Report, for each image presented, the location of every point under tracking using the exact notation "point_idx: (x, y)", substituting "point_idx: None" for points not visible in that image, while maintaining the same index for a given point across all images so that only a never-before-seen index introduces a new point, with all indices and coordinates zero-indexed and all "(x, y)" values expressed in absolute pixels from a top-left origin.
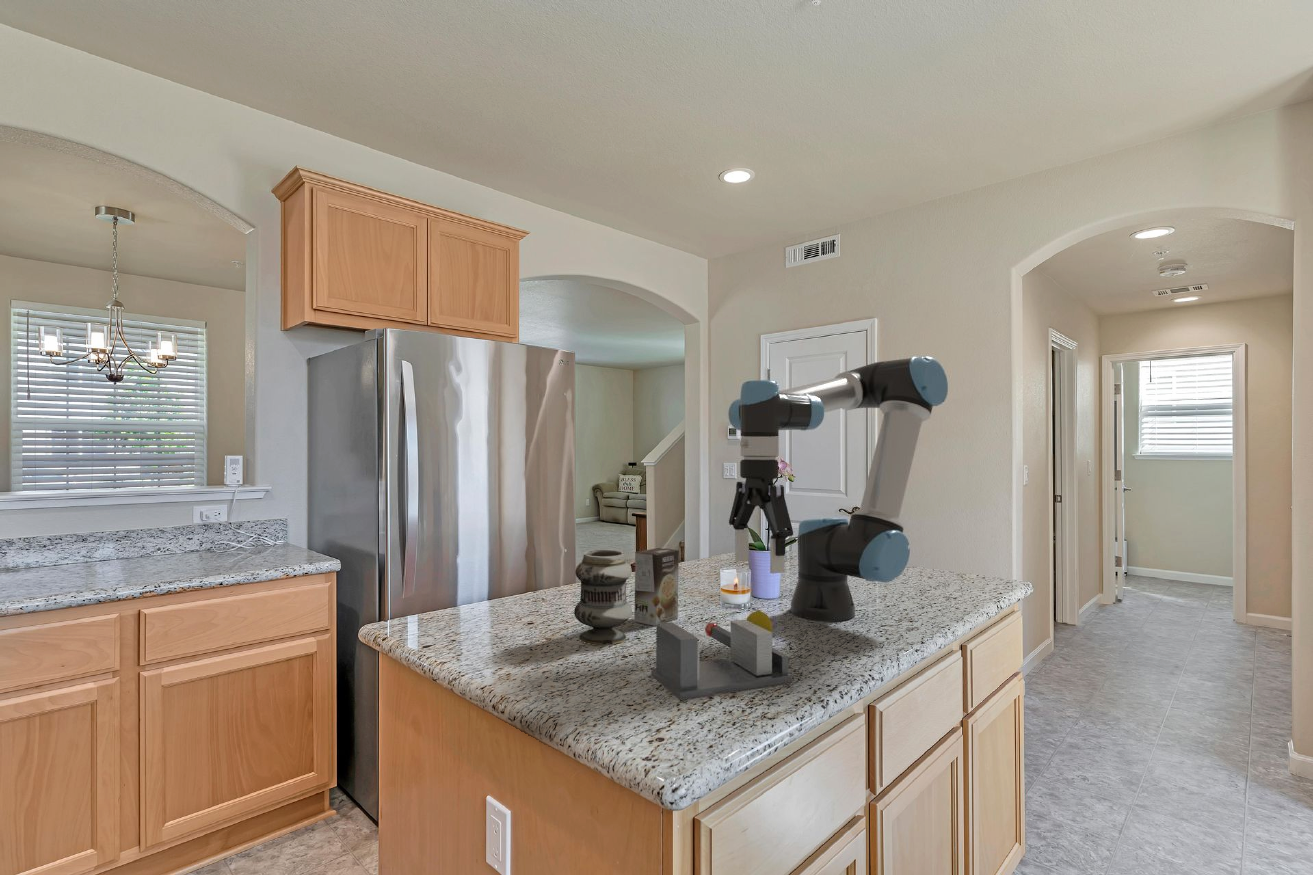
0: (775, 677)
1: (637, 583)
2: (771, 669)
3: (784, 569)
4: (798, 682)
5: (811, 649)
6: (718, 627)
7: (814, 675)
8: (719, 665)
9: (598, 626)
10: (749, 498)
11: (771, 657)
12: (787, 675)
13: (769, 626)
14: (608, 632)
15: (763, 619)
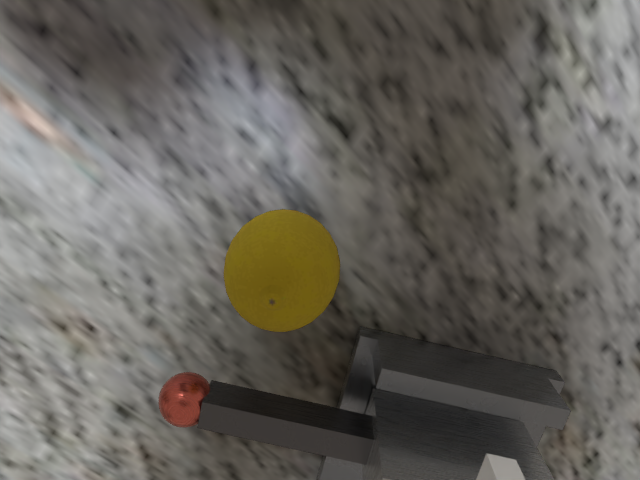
0: (543, 427)
1: None
2: (526, 430)
3: (523, 476)
4: (570, 355)
5: (397, 69)
6: (221, 414)
7: (570, 277)
8: None
9: None
10: None
11: (540, 456)
12: (557, 391)
13: (335, 268)
14: None
15: (320, 302)
